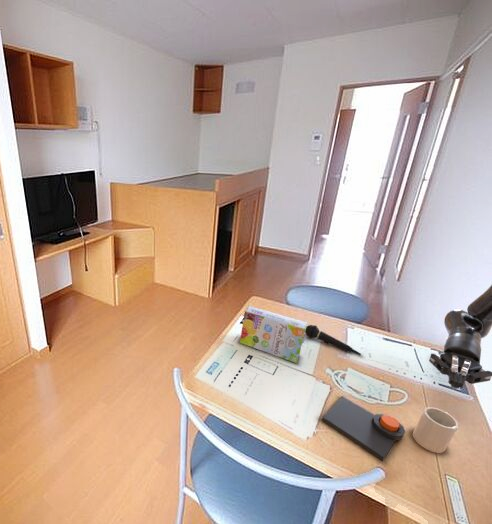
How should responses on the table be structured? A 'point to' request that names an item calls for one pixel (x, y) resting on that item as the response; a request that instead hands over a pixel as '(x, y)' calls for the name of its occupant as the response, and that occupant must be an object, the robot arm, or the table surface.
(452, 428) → the cup
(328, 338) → the microphone
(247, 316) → the snack box
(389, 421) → the button
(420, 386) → the table surface
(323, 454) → the table surface
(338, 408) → the scale
